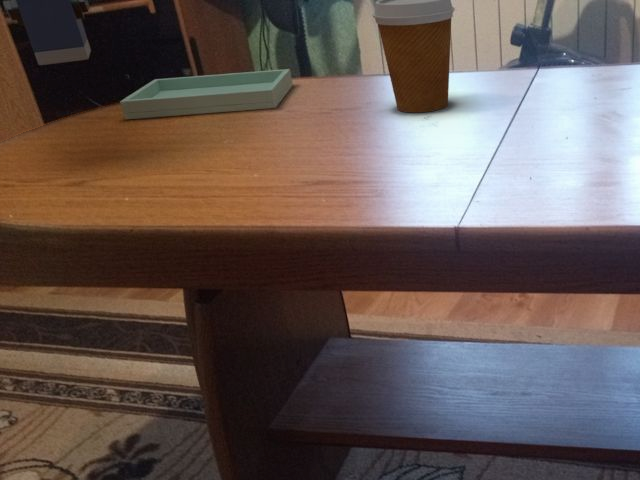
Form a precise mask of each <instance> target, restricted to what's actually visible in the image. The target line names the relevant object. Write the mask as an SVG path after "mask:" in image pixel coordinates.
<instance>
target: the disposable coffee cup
mask: <svg viewBox="0 0 640 480" xmlns="http://www.w3.org/2000/svg"><path fill="white" fill-rule="evenodd" d="M455 10H456V8H455V7H454V6H453V4H452V0H376V1H375V3H374V13H373V14H372V17H373V18H374V20H375V24H376V25H377V27H378V31H379V36H380V40H381V45H382V49H383V52H384V56H385V61H386V65H387V69H388V75H389V78H390V83H391V86H392V87H391V88H392V92H393V95H394V100H395V103H396V104H395V105H396V108H397V110H398V111H401V112H405V113H427V112H433V111H438V110H441V109H444V108H445V107H447V106H448V105H449V90H450V89H449V88H450V87H449V86H450V63H451V58H450V57H451V39H452V37H451V36H452V18H453V17H454V12H455Z"/></svg>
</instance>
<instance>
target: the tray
mask: <svg viewBox="0 0 640 480" xmlns="http://www.w3.org/2000/svg"><path fill="white" fill-rule="evenodd" d="M293 86H294V83H293V78H292V73H291V69H290V68H285V69H272V70H271V69H269V70H257V71H246V72H233V73H231V72H230V73H219V74H205V75H194V76H193V75H192V76H180V77H168V78H167V77H166V78H156V79H153V80H151V81H150V82H148V83H146V84H145V85H143V86H142V87H140V88H139V89H137V90H136V91H134V92H133V93H131V94H129V95H128V96H126V97H124V98H123V99H122V100H120V101H119V104H120V107H121V110H122V113H123V116H124V119H125V120H138V119H151V118H152V119H154V118H164V117H165V118H167V117H176V116H177V117H179V116H189V115H203V114H204V115H205V114H216V113H218V114H219V113H228V112H229V113H231V112H242V111H254V110H255V111H257V110H268V109H276V108H277V107H278V106H279V104H280V103H281V102H282V100H284V98H285V96H286V95H287V94H288V93H289V91H290V90H291V89H292V87H293Z"/></svg>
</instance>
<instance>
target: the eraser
mask: <svg viewBox="0 0 640 480" xmlns="http://www.w3.org/2000/svg"><path fill="white" fill-rule="evenodd" d="M16 2H17V5H18V8H19V11H20V14H21V17H22V19H23V22H24V25H23V26H24V28H25V31H26V34H27V36H28V39H29V43H30V44H31V47H32V50H33V52H34V56H35V58H36V62H37V64H38V65H39V66H47V65H54V64H63V63H70V62H71V63H72V62H78V61H86V60H89V58H90V55H91V52H92V49H91V45H90V42H89V40H88V37H87V33H86V30H85V26H84V24H83V19H77V17H76V15H75V12H74V10H73V7H72V4H71V0H16Z"/></svg>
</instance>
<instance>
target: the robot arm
mask: <svg viewBox="0 0 640 480" xmlns="http://www.w3.org/2000/svg"><path fill="white" fill-rule="evenodd" d="M2 4H3V7H4V9H5V11H6V13H7V15H8V17H9V18H10V19H11V21H17V23H18V26H25V25H24V22H23V19H22V17H21V14H20V11H19V8H18V5H17V2H16V0H2ZM71 4H72V7H73V10H74V12H75V15H76V17H77V19H81V20H83V19H85V14H84V13H89V11H90V4H89V0H71Z"/></svg>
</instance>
